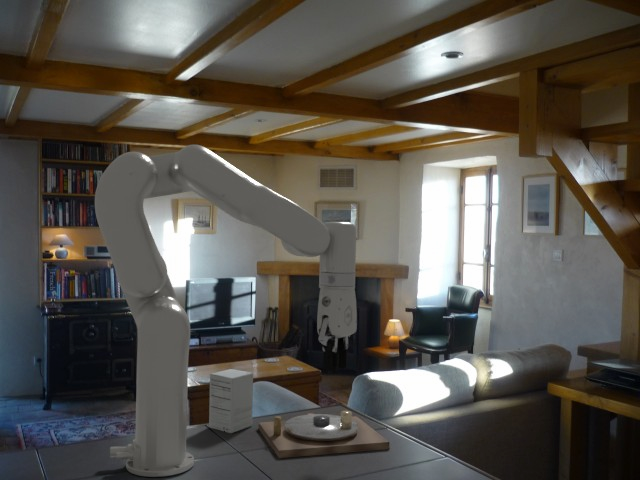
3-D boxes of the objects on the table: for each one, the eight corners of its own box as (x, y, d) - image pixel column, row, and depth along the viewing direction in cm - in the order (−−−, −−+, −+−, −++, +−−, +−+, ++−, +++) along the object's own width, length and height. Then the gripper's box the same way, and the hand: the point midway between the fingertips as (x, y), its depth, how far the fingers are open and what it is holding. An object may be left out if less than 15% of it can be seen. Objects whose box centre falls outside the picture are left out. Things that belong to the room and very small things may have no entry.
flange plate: (295, 443, 130) (296, 420, 130) (276, 420, 147) (277, 400, 147) (368, 437, 135) (368, 415, 135) (342, 416, 151) (342, 396, 151)
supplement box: (230, 420, 153) (231, 368, 153) (253, 426, 148) (254, 372, 148) (207, 427, 147) (208, 372, 147) (231, 433, 142) (232, 377, 142)
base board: (278, 458, 127) (279, 431, 127) (258, 428, 146) (259, 405, 146) (389, 448, 134) (389, 423, 134) (356, 422, 154) (356, 400, 154)
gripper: (335, 284, 123) (333, 378, 123) (369, 280, 138) (367, 364, 138) (302, 282, 127) (299, 374, 127) (338, 278, 141) (336, 361, 141)
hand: (335, 368), depth 132 cm, fingers open, 3 cm apart
